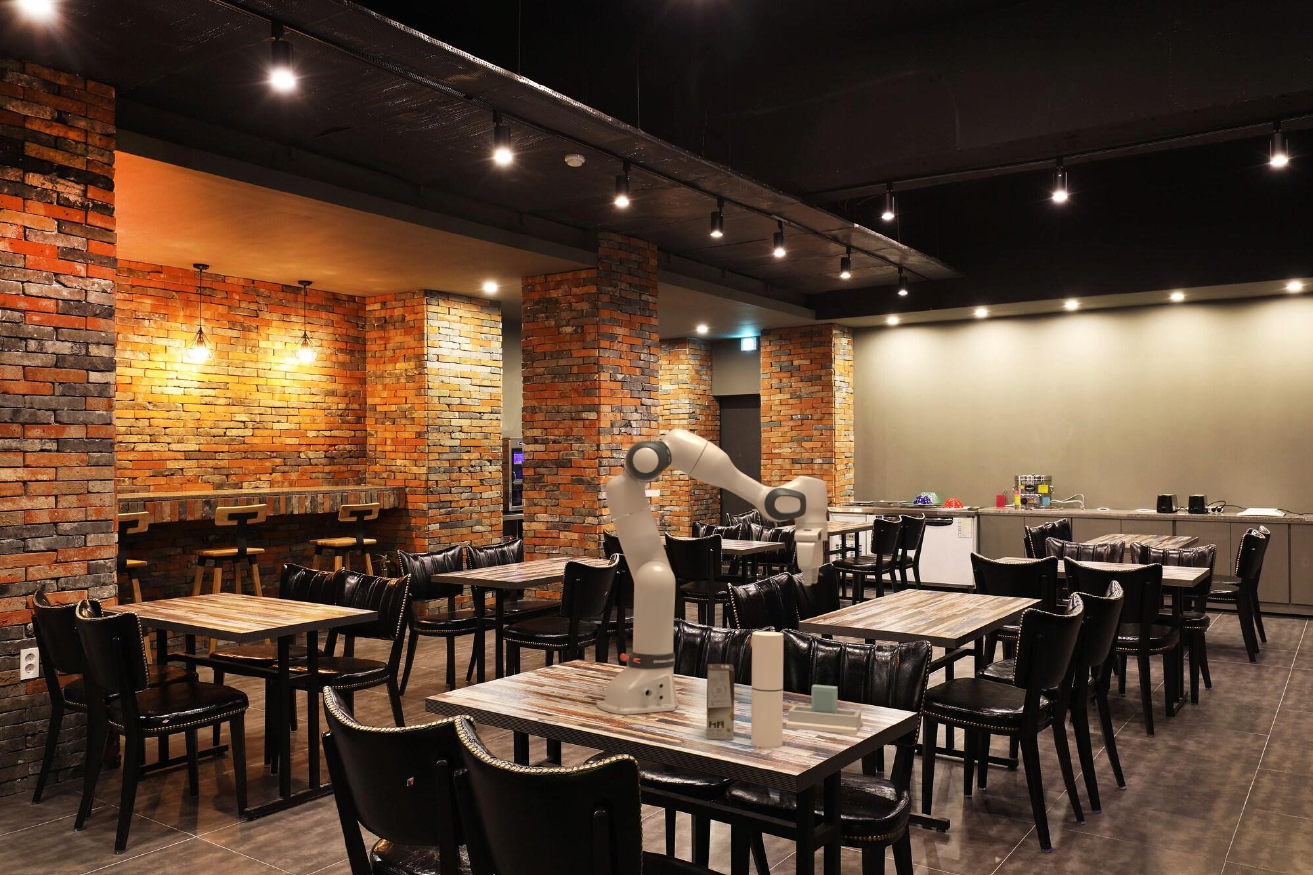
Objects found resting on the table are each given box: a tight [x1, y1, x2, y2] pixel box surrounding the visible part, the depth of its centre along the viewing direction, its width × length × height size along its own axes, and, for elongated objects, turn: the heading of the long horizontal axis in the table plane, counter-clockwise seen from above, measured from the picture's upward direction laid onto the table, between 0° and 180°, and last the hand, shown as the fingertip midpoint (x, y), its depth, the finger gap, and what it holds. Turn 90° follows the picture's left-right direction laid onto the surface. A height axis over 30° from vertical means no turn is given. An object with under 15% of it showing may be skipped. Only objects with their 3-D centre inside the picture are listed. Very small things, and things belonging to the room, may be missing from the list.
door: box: [811, 684, 838, 714], centre depth 236 cm, size 3×6×8 cm, turn 71°
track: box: [785, 704, 863, 735], centre depth 236 cm, size 13×17×4 cm
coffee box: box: [706, 663, 735, 741], centre depth 225 cm, size 9×6×16 cm
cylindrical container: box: [750, 631, 784, 749], centre depth 218 cm, size 7×7×25 cm
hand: (810, 584), depth 261 cm, fingers open, 8 cm apart
